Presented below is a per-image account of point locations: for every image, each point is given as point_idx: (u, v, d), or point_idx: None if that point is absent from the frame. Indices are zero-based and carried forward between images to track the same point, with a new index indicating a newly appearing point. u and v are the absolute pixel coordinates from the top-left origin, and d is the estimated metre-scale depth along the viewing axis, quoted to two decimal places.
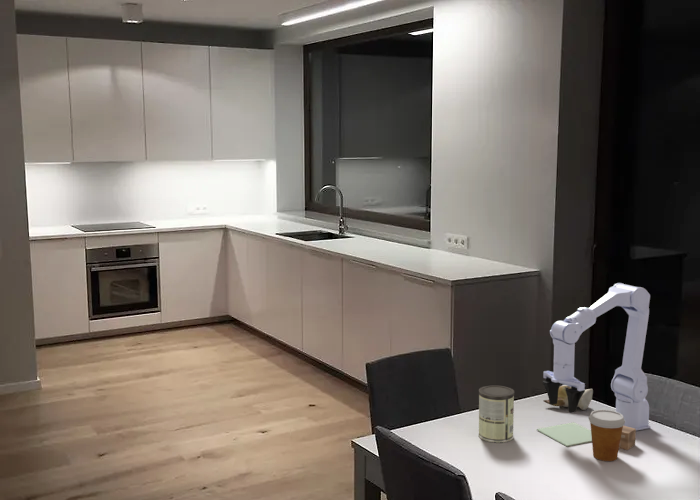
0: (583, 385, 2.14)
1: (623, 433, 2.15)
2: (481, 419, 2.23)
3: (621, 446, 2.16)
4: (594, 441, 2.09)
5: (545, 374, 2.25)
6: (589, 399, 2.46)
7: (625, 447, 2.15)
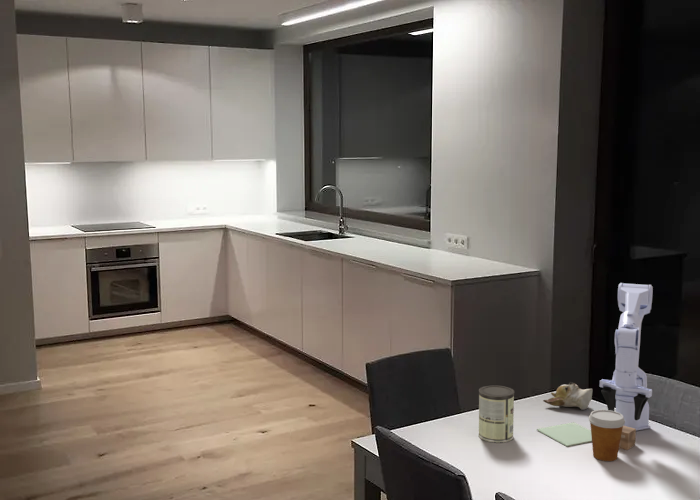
0: (651, 391, 2.11)
1: (623, 433, 2.15)
2: (481, 419, 2.23)
3: (621, 446, 2.16)
4: (594, 441, 2.09)
5: (602, 383, 2.20)
6: (589, 399, 2.46)
7: (625, 447, 2.15)
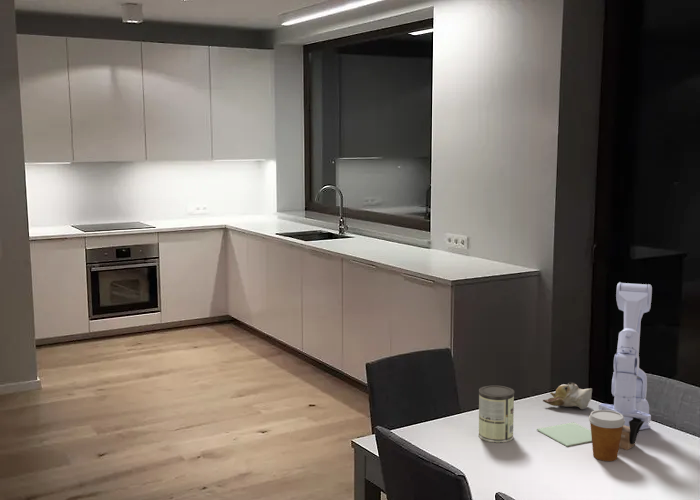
0: (650, 416, 2.12)
1: (623, 433, 2.15)
2: (481, 419, 2.23)
3: (622, 445, 2.16)
4: (594, 441, 2.09)
5: (601, 407, 2.21)
6: (588, 399, 2.47)
7: (625, 447, 2.15)
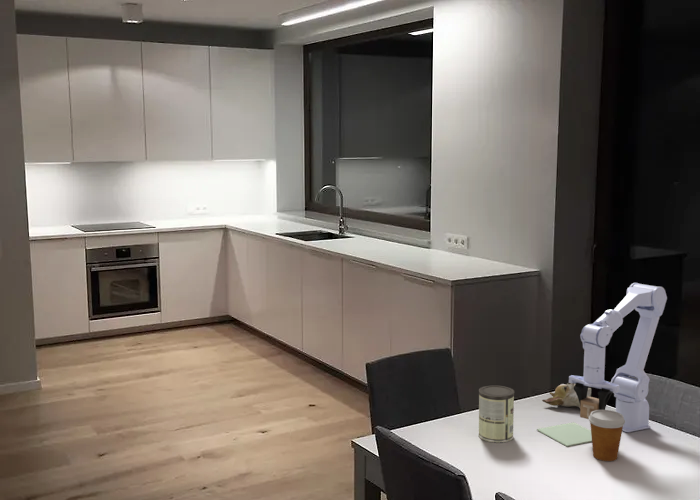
0: (618, 387, 2.16)
1: (592, 404, 2.19)
2: (481, 419, 2.23)
3: None
4: (594, 441, 2.09)
5: (571, 379, 2.24)
6: None
7: None
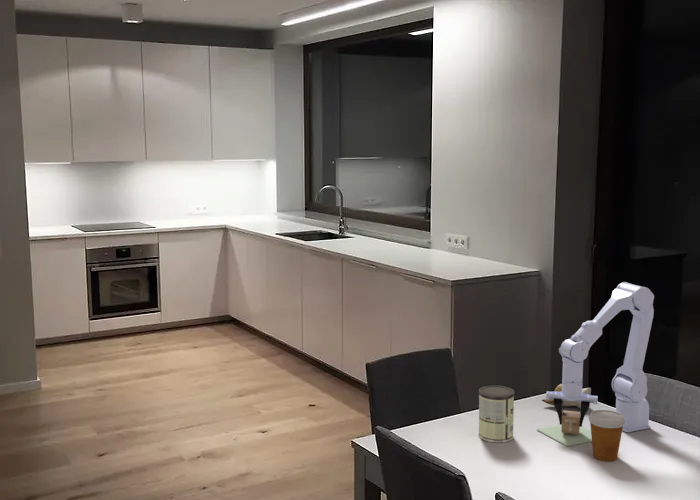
0: (597, 398, 2.23)
1: (574, 418, 2.23)
2: (481, 419, 2.23)
3: (573, 430, 2.23)
4: (594, 441, 2.09)
5: (549, 395, 2.26)
6: None
7: (576, 431, 2.23)
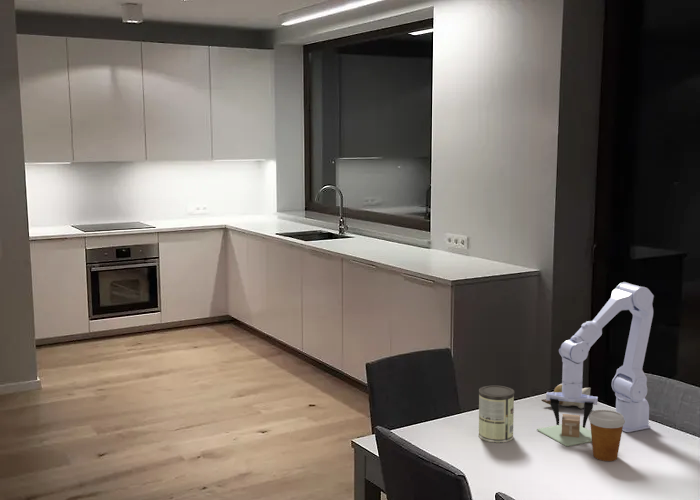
0: (597, 398, 2.23)
1: (574, 421, 2.23)
2: (481, 419, 2.23)
3: (573, 434, 2.24)
4: (594, 441, 2.09)
5: (549, 396, 2.26)
6: None
7: (577, 435, 2.23)
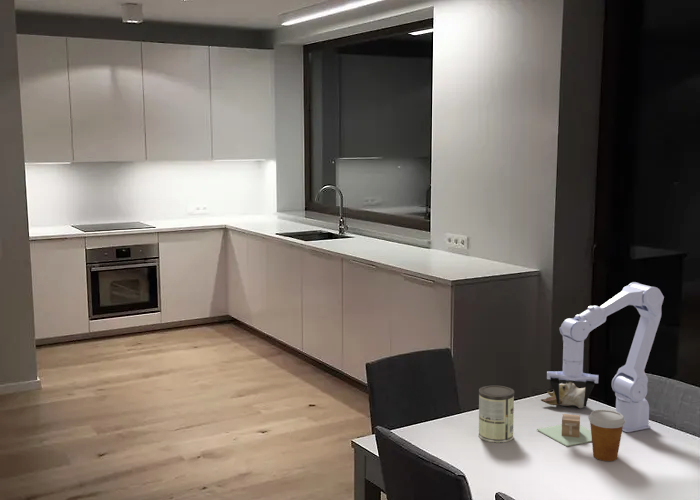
0: None
1: (574, 421, 2.23)
2: (481, 419, 2.23)
3: (573, 434, 2.24)
4: (594, 441, 2.09)
5: (550, 375, 2.25)
6: None
7: (577, 435, 2.23)
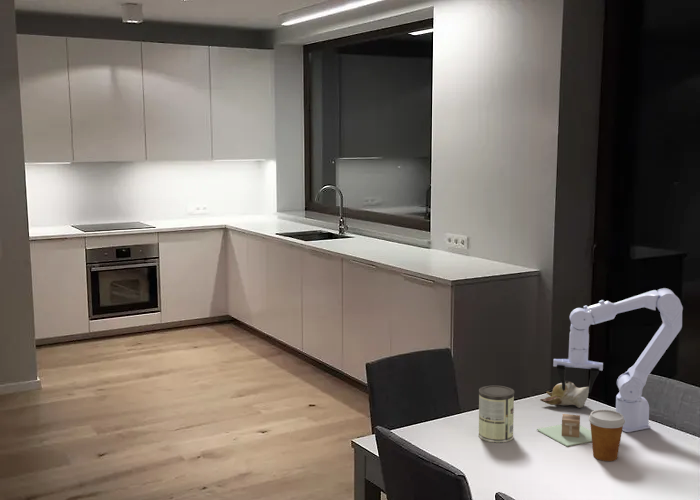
0: (602, 364, 2.32)
1: (574, 421, 2.23)
2: (481, 419, 2.23)
3: (573, 434, 2.24)
4: (594, 441, 2.09)
5: (556, 362, 2.34)
6: (585, 397, 2.48)
7: (577, 435, 2.23)
